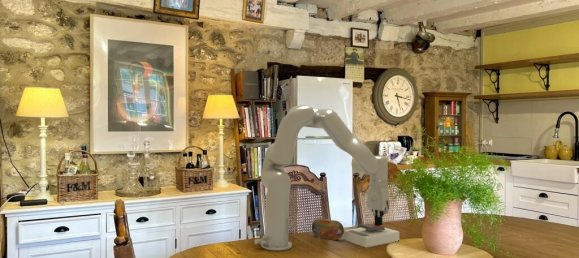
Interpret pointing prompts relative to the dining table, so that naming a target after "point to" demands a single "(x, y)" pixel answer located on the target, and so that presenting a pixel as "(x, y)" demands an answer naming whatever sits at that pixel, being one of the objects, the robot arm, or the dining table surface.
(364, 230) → the switch panel
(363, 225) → the rocker
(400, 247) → the dining table surface
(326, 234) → the tin
